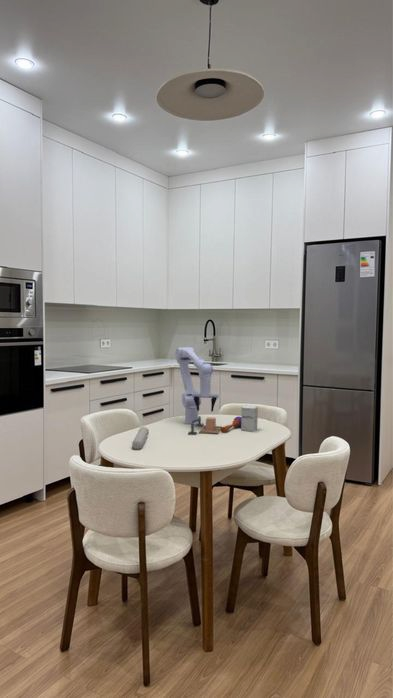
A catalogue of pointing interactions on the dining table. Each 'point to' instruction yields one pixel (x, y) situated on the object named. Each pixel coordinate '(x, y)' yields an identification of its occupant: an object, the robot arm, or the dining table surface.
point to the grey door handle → (195, 425)
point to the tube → (140, 438)
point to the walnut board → (204, 431)
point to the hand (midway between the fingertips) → (205, 410)
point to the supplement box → (249, 418)
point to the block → (210, 423)
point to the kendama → (235, 423)
